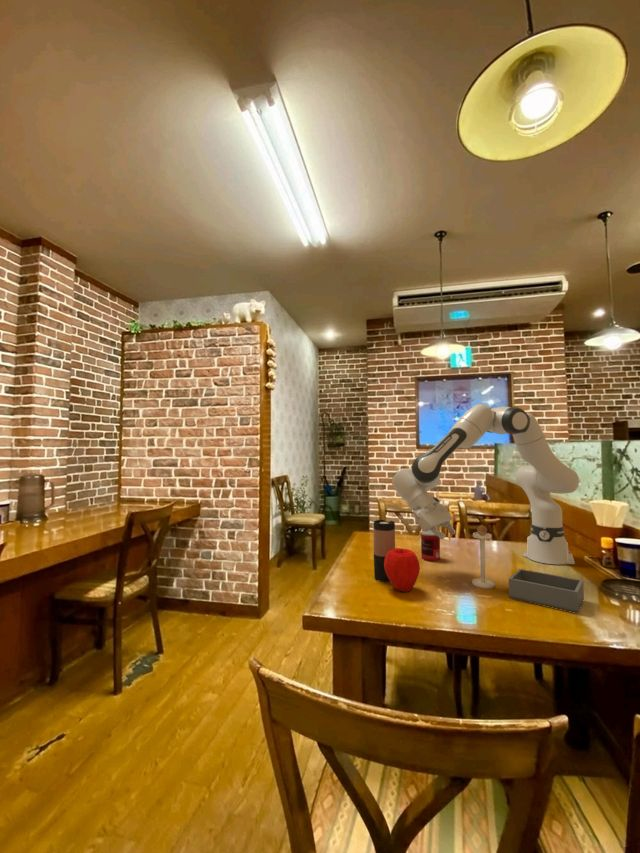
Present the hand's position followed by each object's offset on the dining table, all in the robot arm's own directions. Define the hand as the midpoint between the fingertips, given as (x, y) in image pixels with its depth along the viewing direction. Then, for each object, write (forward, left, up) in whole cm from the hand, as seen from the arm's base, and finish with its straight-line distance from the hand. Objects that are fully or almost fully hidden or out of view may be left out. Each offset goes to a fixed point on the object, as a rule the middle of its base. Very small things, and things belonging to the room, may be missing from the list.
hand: (448, 535), depth 142 cm
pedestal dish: (0, +12, -15) cm, 19 cm away
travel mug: (+16, -17, -15) cm, 28 cm away
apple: (+22, -7, -15) cm, 28 cm away
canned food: (-18, -15, -15) cm, 28 cm away
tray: (+1, +31, -15) cm, 34 cm away
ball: (0, +12, +4) cm, 12 cm away
